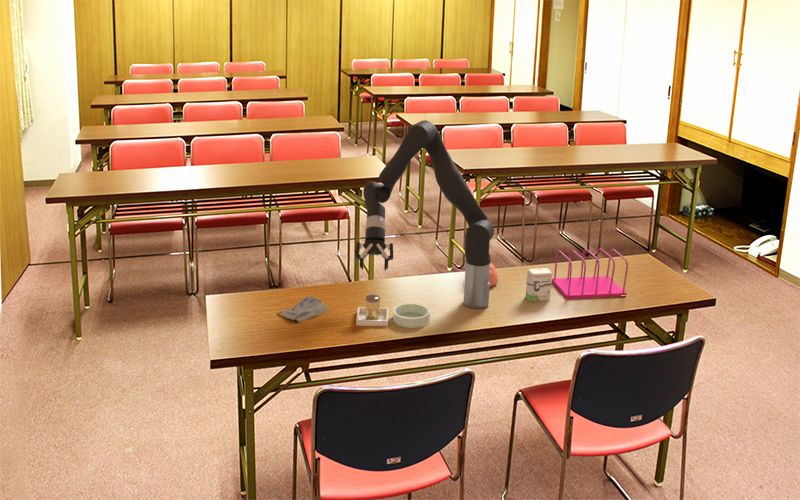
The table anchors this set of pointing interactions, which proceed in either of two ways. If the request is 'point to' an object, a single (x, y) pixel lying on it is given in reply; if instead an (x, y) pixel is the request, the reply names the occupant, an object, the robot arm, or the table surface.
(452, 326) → the table surface
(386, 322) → the parts tray
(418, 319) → the bowl
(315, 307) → the fossil rock
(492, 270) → the teapot
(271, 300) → the table surface
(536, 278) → the ink box
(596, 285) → the file sorter
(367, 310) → the glass jar with lid
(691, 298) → the table surface
